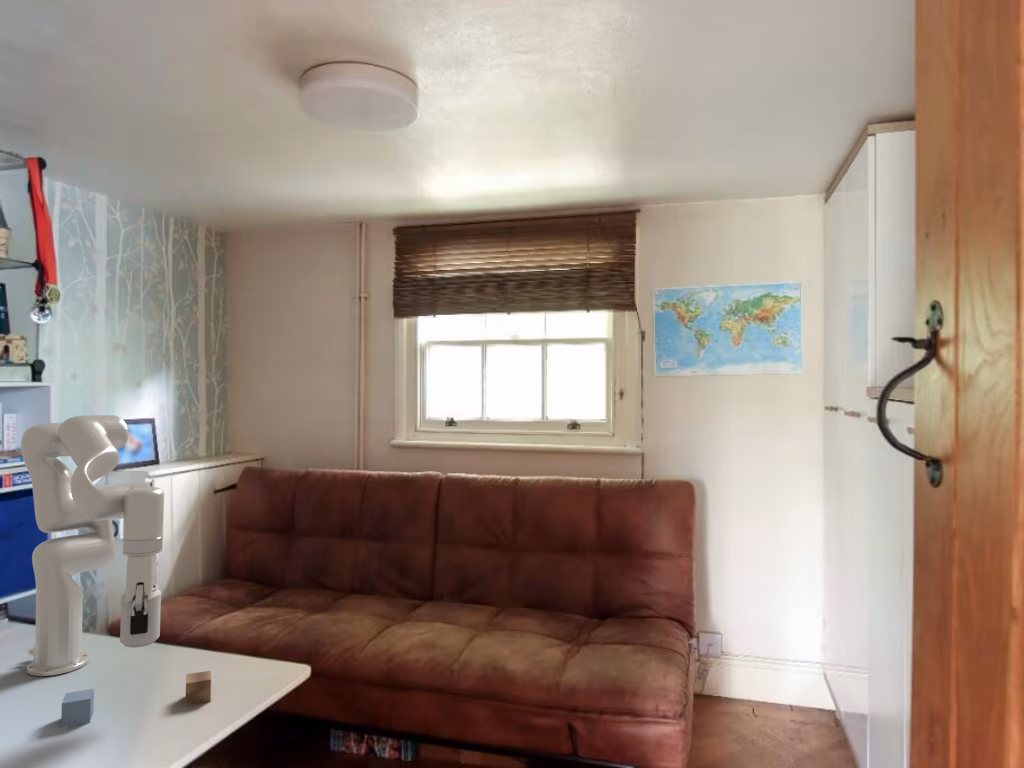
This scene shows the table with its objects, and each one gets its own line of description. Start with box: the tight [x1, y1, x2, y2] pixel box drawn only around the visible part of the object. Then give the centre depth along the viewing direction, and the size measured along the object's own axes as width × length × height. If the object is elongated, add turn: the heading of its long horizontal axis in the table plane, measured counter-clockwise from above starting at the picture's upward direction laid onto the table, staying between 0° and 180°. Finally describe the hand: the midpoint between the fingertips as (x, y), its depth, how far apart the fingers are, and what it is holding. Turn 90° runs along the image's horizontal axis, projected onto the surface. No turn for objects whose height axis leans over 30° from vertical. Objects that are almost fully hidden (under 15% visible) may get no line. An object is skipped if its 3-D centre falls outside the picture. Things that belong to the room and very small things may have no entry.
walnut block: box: [184, 670, 212, 707], centre depth 147 cm, size 5×5×5 cm
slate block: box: [60, 688, 95, 728], centre depth 137 cm, size 5×5×5 cm
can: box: [119, 583, 162, 649], centre depth 142 cm, size 8×8×12 cm
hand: (140, 626), depth 142 cm, fingers closed on can, 7 cm apart
